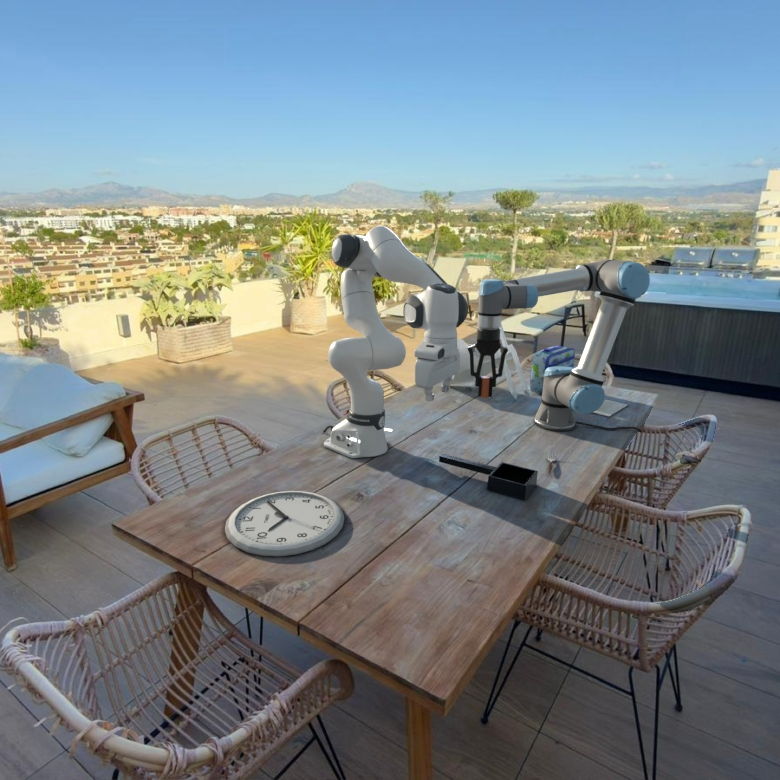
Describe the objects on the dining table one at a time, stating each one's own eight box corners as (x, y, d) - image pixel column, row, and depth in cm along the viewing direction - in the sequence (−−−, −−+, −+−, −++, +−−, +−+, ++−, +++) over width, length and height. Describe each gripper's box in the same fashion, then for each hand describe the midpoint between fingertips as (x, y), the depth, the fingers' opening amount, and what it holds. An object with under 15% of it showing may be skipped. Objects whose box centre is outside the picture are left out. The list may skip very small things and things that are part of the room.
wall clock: (344, 547, 121) (211, 552, 118) (344, 554, 121) (212, 558, 119) (344, 486, 149) (237, 489, 147) (344, 491, 150) (237, 494, 147)
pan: (536, 484, 156) (537, 470, 155) (524, 500, 147) (526, 485, 146) (447, 461, 171) (448, 448, 169) (432, 474, 162) (432, 461, 160)
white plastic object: (461, 429, 252) (437, 405, 227) (444, 352, 274) (420, 323, 250) (535, 404, 240) (518, 377, 215) (510, 326, 262) (492, 293, 237)
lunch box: (546, 399, 235) (551, 353, 228) (525, 393, 242) (530, 349, 236) (574, 387, 252) (579, 345, 246) (553, 383, 260) (558, 341, 253)
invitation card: (608, 416, 214) (573, 407, 224) (608, 416, 214) (573, 408, 224) (628, 404, 229) (594, 396, 238) (628, 405, 229) (594, 397, 238)
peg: (489, 395, 180) (490, 375, 178) (489, 398, 177) (490, 378, 175) (479, 395, 180) (480, 375, 178) (480, 397, 177) (481, 378, 175)
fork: (544, 474, 162) (545, 469, 162) (548, 455, 177) (548, 449, 176) (553, 476, 161) (554, 470, 161) (556, 456, 176) (557, 450, 175)
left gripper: (446, 338, 149) (444, 385, 153) (410, 351, 132) (409, 403, 136) (466, 341, 145) (463, 388, 150) (433, 355, 129) (430, 408, 133)
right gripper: (512, 326, 174) (507, 393, 181) (463, 325, 176) (460, 391, 183) (515, 330, 167) (509, 400, 174) (464, 329, 169) (461, 398, 176)
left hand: (437, 396), depth 143 cm, fingers open, 8 cm apart
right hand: (484, 395), depth 178 cm, fingers closed on peg, 3 cm apart
